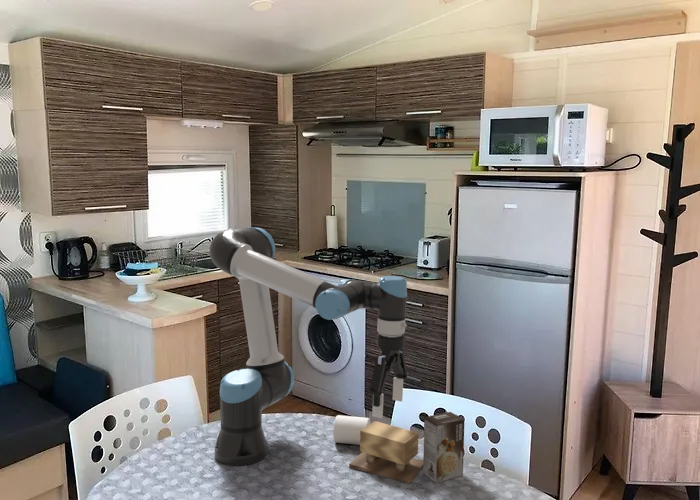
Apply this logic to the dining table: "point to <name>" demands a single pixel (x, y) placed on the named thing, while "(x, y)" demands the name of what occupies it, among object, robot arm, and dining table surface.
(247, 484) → the dining table surface
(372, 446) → the wooden block
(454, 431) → the coffee box
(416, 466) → the peg stand
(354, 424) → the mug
